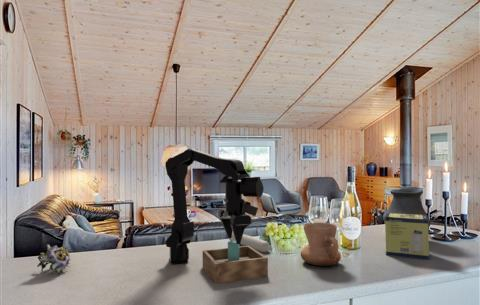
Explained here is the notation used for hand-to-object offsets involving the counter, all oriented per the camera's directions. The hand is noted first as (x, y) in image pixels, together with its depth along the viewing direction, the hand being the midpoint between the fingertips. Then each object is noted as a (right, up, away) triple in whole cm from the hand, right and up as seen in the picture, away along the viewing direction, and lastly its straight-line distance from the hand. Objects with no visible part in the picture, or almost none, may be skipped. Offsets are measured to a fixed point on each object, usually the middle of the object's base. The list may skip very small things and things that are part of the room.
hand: (234, 241), depth 117 cm
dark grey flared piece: (+81, -11, +43) cm, 92 cm away
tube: (+6, -12, +33) cm, 35 cm away
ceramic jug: (+32, -11, +8) cm, 35 cm away
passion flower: (-63, -11, 0) cm, 64 cm away
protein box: (+69, -11, +19) cm, 73 cm away
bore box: (0, -11, 0) cm, 11 cm away
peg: (0, -11, 0) cm, 11 cm away
